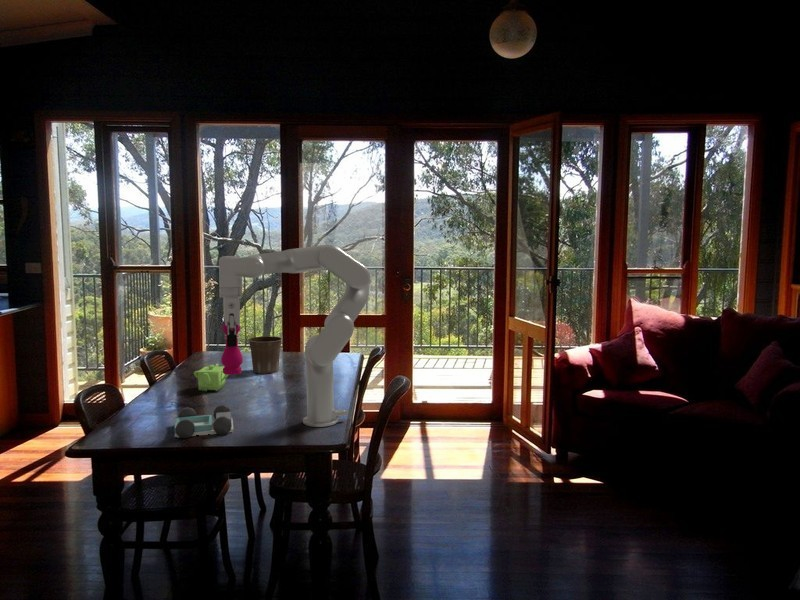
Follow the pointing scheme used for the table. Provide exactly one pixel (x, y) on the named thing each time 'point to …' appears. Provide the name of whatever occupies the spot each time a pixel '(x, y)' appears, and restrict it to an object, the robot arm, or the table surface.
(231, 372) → the pepper mill
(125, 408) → the table surface
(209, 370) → the teapot
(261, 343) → the plant pot
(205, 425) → the chassis
